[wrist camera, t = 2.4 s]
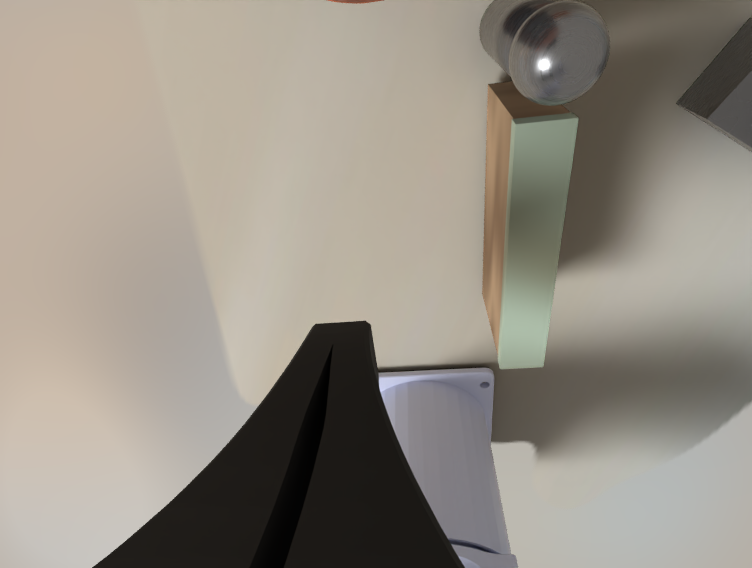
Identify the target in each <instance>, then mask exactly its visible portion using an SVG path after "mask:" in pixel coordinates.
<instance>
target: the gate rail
mask: <svg viewBox="0 0 752 568" xmlns="http://www.w3.org/2000/svg"><path fill="white" fill-rule="evenodd" d="M578 119H579V118H578V117H577V116H576V115H575V114H574V113H570V112H569V111H568V110H567V109H566V108H565V107H563V106H562V105H556V106H547V105H541V104H537V103H534V102H532V101H530V100H528V99H527V98H525V97H524V96H523V95H522V94H521V93H520V92H519V91H518V90H517V88H516V86H515V85H514V83H513V81H512V82H503V83H494V84H488V105H487V142H486V178H485V215H484V252H483V289H482V294H483V298H484V302H485V306H486V310H487V314H488V318H489V322H490V326H491V330H492V334H493V338H494V342H495V346H496V350H497V354H498V363H499V367H500V369H516V368H537V367H543V366H544V359H545V352H546V345H547V338H548V331H549V323H550V316H551V309H552V302H553V295H554V288H555V281H556V274H557V267H558V260H559V253H560V246H561V239H562V232H563V225H564V218H565V211H566V204H567V197H568V190H569V183H570V176H571V169H572V162H573V155H574V148H575V141H576V133H577V126H578Z"/></svg>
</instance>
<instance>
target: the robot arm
mask: <svg viewBox="0 0 752 568" xmlns="http://www.w3.org/2000/svg"><path fill="white" fill-rule="evenodd" d="M482 382H486V383H482ZM493 394H494V374H493V371H492V370H491V369H489V368H465V369H445V370H425V371H405V372H384V373H378V368H377V362H376V356H375V350H374V344H373V337H372V331H371V325H370V324H369V323H368V322H366V321H356V322H340V323H324V324H315V325H314V326H313V327H312V329H311V330H310V332H309V333H308V335H307V337H306V338H305V340H304V342H303V343H302V345H301V346H300V348H299V349H298V351H297V353H296V354H295V356H294V357H293V359H292V360H291V362H290V363H289V365H288V366H287V368H286V369H285V371H284V372H283V373H282V375H281V376H280V378H279V379H278V380H277V382H276V383H275V385H274V386H273V388H272V389H271V390H270V392H269V393H268V394H267V396H266V397H265V398H264V400H263V401H262V402H261V404H260V405H259V406H258V407H257V409H256V410H255V411H254V413H253V414H252V415H251V417H250V418H249V419H248V420H247V421H246V423H245V424H244V425H243V426H242V428H241V429H240V430H239V431H238V432H237V433H236V435H235V436H234V437H233V438H232V439H231V440H230V442H229V443H228V444H227V445H226V446H225V447H224V448H223V449H222V451H220V453H219V454H218V455H217V456H216V457H215V458H214V459H213V460H212V461H211V462H210V463H209V464H208V466H206V467H205V468H204V469H203V470H202V471H201V472H200V473H199V474H198V476H197V477H195V478H194V480H192V482H191V483H190V484H188V485H187V487H186V488H185V489H183V490H182V491H181V492H180V493H179V494H178V495H177V496H176V497H175V498H174V499H173V500H172V501H171V502H170V503H169V504H168V505H166V506H165V507H164V508H163V509H162V510H161V511H160V512H158V513H157V514H156V515H155V516H154V517H153V518H152V519H150V520H149V521H148V522H147V523H146V524H145V525H144V526H142V527H141V528H140V529H139V530H138V531H137V532H136V533H134V534H133V535H132V536H131V537H130V538H129V539H127V540H126V541H125V542H124V543H123V544H122V545H120V546H119V547H118V548H117V549H115V550H114V551H113V552H112V553H111V554H109V555H108V556H107V557H106V558H104V559H103V560H102V561H100V562H99V563H98V564H96V565H95V566H94V567H92V568H518V565H517V559H516V556H515V555H513V554H511V550H510V545H509V540H508V534H507V529H506V524H505V519H504V513H503V508H502V503H501V498H500V492H499V487H498V482H497V477H496V472H495V466H494V461H493V456H492V450H491V431H492V412H493Z"/></svg>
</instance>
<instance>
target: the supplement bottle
mask: <svg viewBox="0 0 752 568" xmlns="http://www.w3.org/2000/svg"><path fill="white" fill-rule="evenodd" d="M328 1H334V2H341V3H369V2H376V1H382V0H328Z"/></svg>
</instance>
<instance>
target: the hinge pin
mask: <svg viewBox="0 0 752 568" xmlns="http://www.w3.org/2000/svg"><path fill="white" fill-rule="evenodd" d="M480 40H481V44H482V46H483V48H484V49H485V51H486V52H487V53H488V54H489V55H490V56H491V57H492V58H493V59H494V60H495V61H496V62H497V63H498V64H499V65H500V66H501V67H502V68H503V69H504V70H505V72H506V73H507V74H508V75H509V76H510V77H511V78H512V81H513V83H514V85H515V86H516V88H517V90H518V91H519V92H520V93H521V94H522V95H523V96H524V97H525V98H527V99H528V100H530V101H532V102H534V103H537V104H541V105H547V106H556V105H562V104H565V103H568V102H571V101H573V100H575V99H577V98H579V97H581V96H582V95H583V94H585V93H586V92H587V91H588V90H589V89H591V87H592V86H593V85H594V84H595V83H596V82H597V80H598V79H599V78H600V76H601V74H602V73H603V71H604V69H605V67H606V64H607V61H608V57H609V53H610V36H609V31H608V28H607V25H606V23H605V21H604V19H603V18H602V17H601V15H600V14H599V13H598V12H597V11H596V10H595V9H594V8H592V7H591V6H589V5H587V4H585V3H583V2H579V1H573V0H564V1H557V2H556V1H552V0H494V1H493V2H492V3H491V4H490V5H489V7H488V8H487V9H486V11H485V13H484V15H483V17H482V20H481V24H480Z"/></svg>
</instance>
